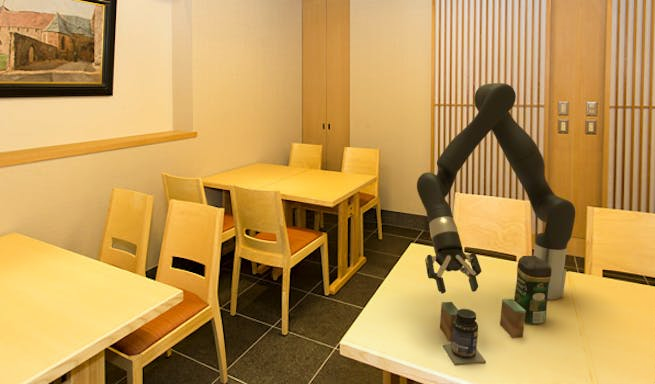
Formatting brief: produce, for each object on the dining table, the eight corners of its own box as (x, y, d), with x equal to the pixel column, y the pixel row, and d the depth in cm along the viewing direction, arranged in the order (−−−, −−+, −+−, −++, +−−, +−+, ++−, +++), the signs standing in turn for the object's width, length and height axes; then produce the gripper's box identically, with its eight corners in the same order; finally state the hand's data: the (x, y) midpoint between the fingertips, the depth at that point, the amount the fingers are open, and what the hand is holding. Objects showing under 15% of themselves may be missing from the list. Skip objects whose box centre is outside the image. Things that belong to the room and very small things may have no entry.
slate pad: (471, 344, 115) (471, 342, 115) (485, 363, 107) (485, 361, 107) (442, 346, 114) (442, 344, 114) (454, 365, 106) (454, 363, 106)
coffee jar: (508, 309, 133) (514, 253, 129) (533, 309, 133) (540, 253, 129) (522, 326, 124) (529, 265, 120) (549, 326, 124) (557, 265, 120)
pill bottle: (477, 360, 107) (481, 320, 104) (451, 357, 108) (455, 318, 106) (474, 346, 113) (477, 308, 110) (450, 343, 114) (453, 306, 111)
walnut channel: (509, 323, 125) (512, 298, 123) (522, 337, 118) (525, 310, 116) (439, 327, 123) (441, 302, 121) (449, 341, 116) (451, 314, 114)
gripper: (424, 231, 118) (437, 288, 109) (473, 228, 119) (490, 285, 111) (417, 243, 124) (429, 298, 116) (464, 240, 126) (479, 294, 117)
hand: (459, 291), depth 113 cm, fingers open, 8 cm apart
